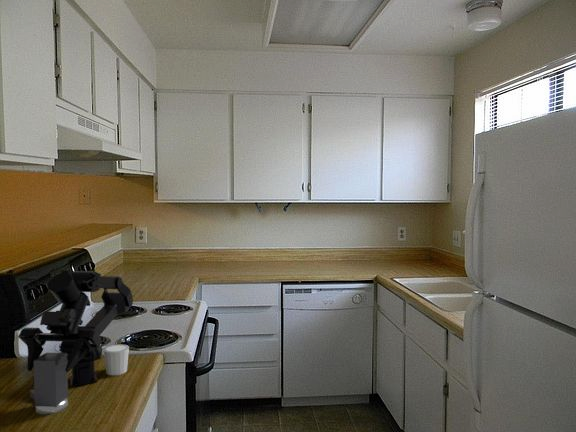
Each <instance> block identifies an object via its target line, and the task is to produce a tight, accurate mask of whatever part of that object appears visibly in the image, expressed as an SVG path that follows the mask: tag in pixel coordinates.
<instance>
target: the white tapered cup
mask: <svg viewBox="0 0 576 432" xmlns="http://www.w3.org/2000/svg"><path fill="white" fill-rule="evenodd" d="M129 350H130V347H129V345H127V344H124V343H123V344H119V343H118V344H111V345H108V346H106V347H105V348H104V349H103V355H104V361H105V362H104V365H105V372H106V375H108V376H120V375H122V374H125V373H127V371H128V365H129V364H128V363H129V353H130V352H129Z"/></svg>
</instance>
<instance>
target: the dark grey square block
mask: <svg viewBox="0 0 576 432" xmlns="http://www.w3.org/2000/svg"><path fill="white" fill-rule="evenodd" d="M67 363H68V361H67V353H62V352H45V353H43V354H41V355H40V357H39V358H37V359H36V360H34V367H33V383H34V385H33V386H34V387H33V388H34V389H33V390H34V396H35V400H34V407H36V406H49V407H57V406H58V405H59V404H60V403H61V402H62V401H63V400H64V399H66V398H68V397H69V385H68V384H69V383H68V381H69V379H68V378H69V377H68V373H69V372H66V371H65V369H66V366H67Z"/></svg>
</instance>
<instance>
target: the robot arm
mask: <svg viewBox="0 0 576 432" xmlns="http://www.w3.org/2000/svg"><path fill="white" fill-rule="evenodd" d="M47 288H48V290H49V291H50V292H51V294H52V295H53V297H54V298H55V299H56V300H57V301H58V303H60V304H61V306H60V309H59V310H55V311H54V310H53V311H50V310H49V311H48V310H47V311H45V310H44V311H42V314H41V317H40V318H41V319H40V323H39V325H40V326H46V330H47V331H50V332H44V331H42V329H40V328H39V327H27V326H26V327H24V328H22V329H21V330H20V332H19V334H18V336H17V338H18V339H20V340H21V341H22V342H23V343H24V344H25V345H26V347H27V371H28V372H31V371H33V370H34V360H36V359H37V358H39V357H40V356H42V353H43V350H44V347H43V346H45V344H46V342H61V343H60V351H61V352H60V353H67V366H66V369H65V371H66V372H68V373H69V372H70V371H71V375H70V376H69V381H70V387H77V386H82V385H86V384H92V383H97V382H98V378H97V374H96V372H95V361H98V360H101V359H102V353H103V347H102V346H101V344H102V337H101V335H102V333H103V332H104V331H105V330H106V329H107V328H108V326H110V324H111V323H112V321H114V320H115V318H116V317H117V316H118V315H122V314H124V313H126V312H128V311H129V310H130V308H131V307H132V306H133V304H134V299H133V294H132V291H131V288H129V287H128V286H127V284H125V283H124V282H123V279H122V277H120V276H115V275H114V276H113V275H110V276H109V275H107V276H105V275H104V276H103V275H102V274H101V273H99V272H97V271H95V270H94V271H89V270H87V271H85V270H84V271H83V270H82V271H81V270H74V271H71V270H70V269H62V270H61V272H60V273H58V274H56V275H53V277H51V278H50V279H49V280H48V281H47ZM100 289H103V292H102V294H101V299H102V302H103V306H102V307H101V308H100V309H99V311H97V313H96V314H94V316H93V317H92V318H91V319H90V320H89V321H88V322H87V323H86V324H85V325H83V323H84V322H83V320H82V319H83V315H84V314H85V310H86V308H87V307H90V306H91V300H90V299H89V296H88V295H87V293H96V292H97V291H100ZM108 290H117V292H115V291H114V292H111V291H110V292H109V291H108Z"/></svg>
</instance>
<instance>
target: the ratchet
mask: <svg viewBox="0 0 576 432" xmlns="http://www.w3.org/2000/svg"><path fill="white" fill-rule="evenodd" d="M29 397H30V398H31V399H32V400H34V401H35V396H34V389H30V390H29ZM68 400H69V399H68V397H67V398H66V399H64V400H63V401H62V402H61V403H60V404H59V405H58V406H57V407H49V406H35V413H37V414H38V415H52V414H56V413H58V412H61V411H63V410H66V408H67V407H68V406H69V405H68V404H69V402H68Z"/></svg>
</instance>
